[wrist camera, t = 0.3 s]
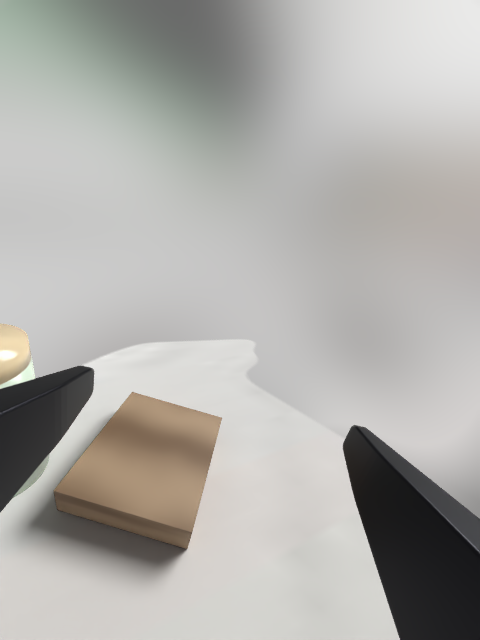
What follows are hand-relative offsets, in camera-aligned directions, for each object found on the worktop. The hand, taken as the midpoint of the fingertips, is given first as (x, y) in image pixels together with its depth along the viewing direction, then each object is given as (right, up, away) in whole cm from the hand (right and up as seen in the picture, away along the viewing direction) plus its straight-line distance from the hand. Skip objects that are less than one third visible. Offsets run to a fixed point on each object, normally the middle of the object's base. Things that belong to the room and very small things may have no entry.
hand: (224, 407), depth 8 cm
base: (-7, -10, +14) cm, 19 cm away
